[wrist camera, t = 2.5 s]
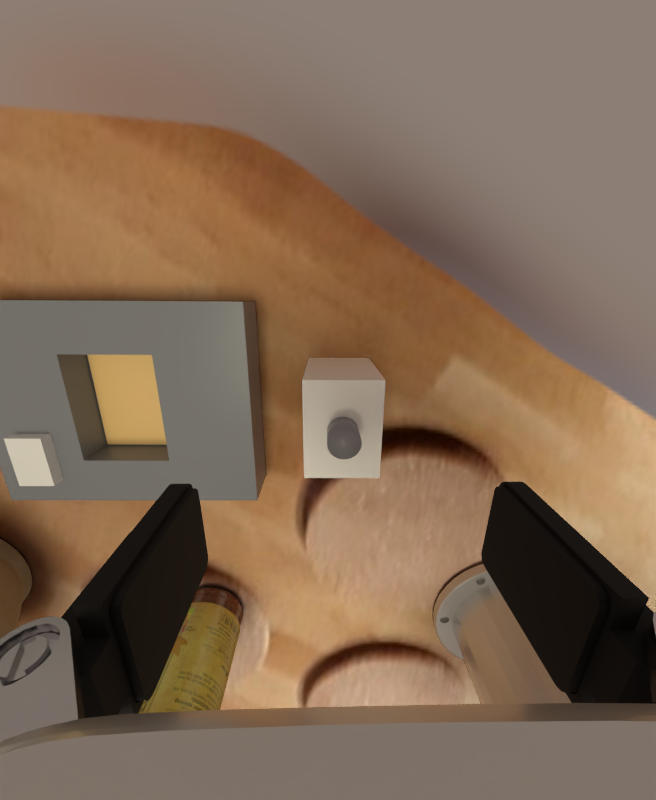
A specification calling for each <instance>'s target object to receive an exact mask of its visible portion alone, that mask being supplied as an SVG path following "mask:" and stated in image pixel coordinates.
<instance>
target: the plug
mask: <svg viewBox="0 0 656 800" xmlns="http://www.w3.org/2000/svg"><path fill="white" fill-rule="evenodd" d="M385 382H386V380H385V379H384V378H383V376H382V375H381V374H380V372H379V371H378V370H377V368H376V367H375V366H374V364H373V363H372V362H371V360H370V359H369V358H309V359H308V362H307V366H306V369H305V372H304V376H303V379H302V398H303V448H304V478H379V477H380V462H381V446H382V430H383V414H384V398H385Z"/></svg>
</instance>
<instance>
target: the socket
mask: <svg viewBox="0 0 656 800" xmlns="http://www.w3.org/2000/svg"><path fill="white" fill-rule="evenodd" d="M0 468H1V471H2V473H3V476H4V479H5V482H6V485H7V488H8V490H9V493H10V496H11V499H12V500H157V499H158V498H159V497H160V496H161V494H162V493H163V492H164V491H165V489H166V488H167V487H168V486H169V485H170V484H191V485H192V487H193V488H196V489H197V490H198V493H199V499H200V500H258V497H259V494H260V491H261V488H262V485H263V483H264V480H265V477H266V466H265V450H264V434H263V417H262V401H261V385H260V369H259V352H258V336H257V320H256V304H255V302H247V301H82V300H0Z"/></svg>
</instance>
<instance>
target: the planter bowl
mask: <svg viewBox="0 0 656 800" xmlns="http://www.w3.org/2000/svg"><path fill="white" fill-rule="evenodd" d="M31 586H32V576H31V571H30V569H29V566H28V564H27V563H26V561H25V559H24V558H23V557H22V556H21V554H20V553H19V552H18V551H17V550H16V549H15V548H13V547H12V546H11V545H9V544H8V543H7V542H5V541H3V540H1V539H0V639H1V638H2V637H4V636H5V635H6V634H8V633H9V632H11V631H13V630H15V629H16V628H17V626H18V622H19V619H20V614H21V607H22V603H23V601H24V600H25V599H26V597H27V596H28V594H29V592H30V590H31Z"/></svg>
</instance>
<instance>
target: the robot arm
mask: <svg viewBox="0 0 656 800" xmlns="http://www.w3.org/2000/svg"><path fill="white" fill-rule="evenodd" d="M482 562H483V564H481V565H478V566H475V567H473V568H471V569H468V570H466V571H464V572H463V573H461V574H460V575H458V576H457V577H455V578H454V579H453V580H452V581H451V582H450V583H449V584H448V585H446V587H445V588H444V589H443V591H442V592H441V593H440V595H439V596H438V599H437V601H436V603H435V606H434V611H433V622H434V626H435V629H436V632H437V635H438V637H439V639H440V641H441V643H442V644H443V646H444V647H445V648H446V649H447V650H448V651H449V652H451V653H452V654H453V655H455V656H457V657H459V658H460V659H463V660H464V661H465V664H466V666H467V669H468V672H469V674H470V677H471V679H472V682H473V685H474V687H475V690H476V692H477V695H478V698H479V700H480V703H481V704H463V705H410V706H360V707H314V708H275V709H237V710H201V711H179V712H158V713H139V711H140V708H141V706H142V704H143V702H144V700H149V699H150V698H151V697H152V695H153V693H154V691H155V689H156V687H157V684H158V682H159V679H160V677H161V675H162V672H163V670H164V668H165V665H166V663H167V661H168V658H169V656H170V653H171V651H172V649H173V646H174V644H175V642H176V639H177V637H178V634H179V632H180V630H181V627H182V625H183V623H184V620H185V618H186V616H187V613H188V611H189V608H190V606H191V604H192V601H193V599H194V597H195V594H196V592H197V589H198V587H199V585H200V582H201V580H202V578H203V575H204V573H205V571H206V568H207V563H208V554H207V547H206V540H205V533H204V526H203V520H202V513H201V506H200V499H199V493H198V490H197V489H196V488H193V487H192V485H191V484H170V485H169V486H168V487H167V488H166V489H165V491H164V492H163V493H162V494H161V496H160V497H159V498H158V499H157V501H156V502H155V503H154V504H153V506H152V507H151V508H150V509H149V511H148V512H147V513H146V514H145V516H144V517H143V518H142V519H141V521H140V522H139V523H138V524H137V526H136V527H135V528H134V529H133V530H132V532H130V533H129V534H128V536H127V537H126V538H125V539H124V540H123V542H122V543H121V544H120V545H119V547H118V548H117V549H116V550H115V552H114V553H113V554H112V555H111V557H110V558H109V559H108V560H107V562H106V563H105V564H104V565H103V566H102V568H101V569H100V570H99V571H98V573H97V574H96V575H95V576H94V578H93V579H92V580H91V581H90V583H89V584H88V585H87V586H86V588H85V589H84V590H83V591H82V592H81V594H80V595H79V596H78V597H77V599H76V600H75V601H74V602H73V604H72V605H71V606H70V607H69V609H68V610H67V611H66V612H65V613H64V615H63V616H62V617H61V618H60V617H45V618H40V619H36V620H34V621H31V622H29V623H26V624H24V625H22V626H20V627H18V628H16V629H15V630H13V631H11V632H9V633H8V634H6V635H5V636H4V637H2V638H1V639H0V800H656V612H653V611H652V610H651V609H649V608H648V607H647V606H646V603H647V601H648V599H649V598H648V597H647V596H646V595H645V594H644V593H643V592H642V591H641V590H640V589H639V588H637V587H636V586H635V585H634V584H633V583H632V582H631V581H630V580H629V579H628V578H627V577H626V576H624V575H623V574H622V573H621V572H620V571H619V570H618V569H617V568H616V567H615V566H614V565H613V564H612V563H610V562H609V561H608V560H607V559H606V558H605V557H604V556H603V555H602V554H601V553H600V552H599V551H598V550H596V549H595V548H594V547H593V546H592V545H591V544H590V543H589V542H588V541H587V540H586V539H585V538H583V537H582V536H581V535H580V534H579V533H578V532H577V531H576V530H575V529H574V528H573V527H572V526H571V525H569V524H568V523H567V522H566V521H565V520H564V519H563V518H562V517H561V516H560V515H559V514H558V513H556V512H555V511H554V510H553V509H552V508H551V507H550V506H549V505H548V504H547V503H546V502H545V501H544V500H542V499H541V498H540V497H539V496H538V495H537V494H536V493H535V492H534V491H533V490H532V489H531V488H529V487H528V486H527V485H526V484H525V483H523V482H502V483H501V484H500V486H499V487H496V488H495V491H494V496H493V500H492V505H491V510H490V515H489V520H488V525H487V530H486V534H485V539H484V544H483V549H482Z"/></svg>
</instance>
